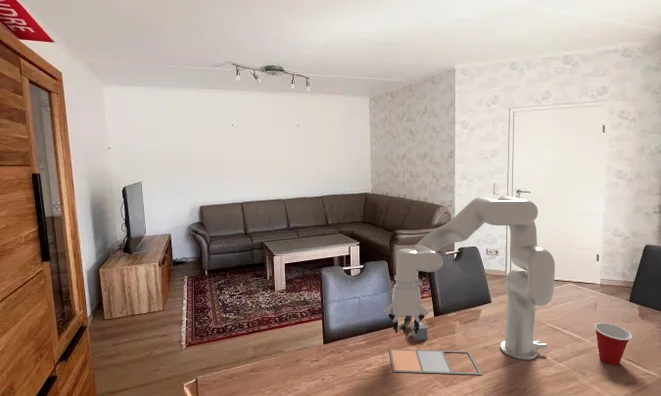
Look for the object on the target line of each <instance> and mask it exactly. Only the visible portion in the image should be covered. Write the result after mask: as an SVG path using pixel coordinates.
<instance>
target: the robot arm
mask: <svg viewBox="0 0 661 396" xmlns="http://www.w3.org/2000/svg"><path fill="white" fill-rule="evenodd" d="M538 214H539V209H538V207H537V205H536V204H535V203H534V202H533V201H531V200H527V199H524V198H518V197H515V196H514V197H513V196H508V195H506V196H499V197H498V198H497V199H493V198H492V199H491V198H489V197H488V198H487V197H476V198H474V199H472V200H471V201H470V202H469V203H468V204H467V205H466V206H465V207H463V208H462V209H461V211H459V212H458V213H457V214H456V215H455V216H454V217H453V218H452V219H451V220H450V221H449V222H447V223H446V224H443V225H442V226H439V227H437V228H436V229H433V230H432V231H429V232H428V233H427V234H426V235H425V236H424V237H423V238H421V240H420V241H419V242H417V243H416V244H415V246H414V247H413V248H409V247H408V248H401V249H398V250H397V252H396V274H395V275H396V277H395V278H396V281H395V285H394V286H393V290H392V297H391V303H390V304H389V305H388V306H387V307H385V308H384V311H383V312H384V313H385V314H386V315H387V316H388V318H389V319H390V320H391V321H392V329H393V330H394V333H395V334H397V333H398V331H399V330H397V328H398V326H399V323H398V318H399V317H401V316H402V317H403V316H405V317H406V316H412V317H414V318H415V319H414V320H413V323H414V328H415V327H416V329H415V330H414V331H415V333H416V334H417V330H419V323H420V322H422V320H423V319H424V318H425V317H427V315H429V310H428V309H427V308H426V307H425V306H424V305H423V304H422V298H421V297H422V296H421V291H420V289H421V288H420V285H421V286H422V285H423V280H419V271H420V272H427V273H434V272H437V271H439V270H440V269H441V268H442V267H443V264H444V260H443V257H442V255H441V254H440V253H439V252H437V251H439V250H440V249H441V248H443V247H444V246H447V245H450V244H454V243H461V242H465V241H467V240H468V239H469V238H470V237H471V236H472V235H473V234H474V233H475V232H476V231H477V230H479V229H480V228H481V227H482V226H483V225H484V224H488V225H492V226H507V227H509V233H510V248H509V257H510V261H511V263H512V264H513V265H515V266H516V267H518V268H515V269H512V270H510V271H509V272H508V273H507V275H506V277H505V290H506V316H505V317H506V319H505V336H504V337H505V339H504V340H503V341H501V342H500V347H499V348H500V350H501V351H502V352H503V353H504V354H506V355H507V356H510V357H511V358H515V359H518V360H522V361H523V360H525V361H528V360H529V361H530V360H534V359H535V358H537V357H538V350H540V349H541V350H547V349H548V345H547V343H541V342H540V340H535V338H534V337H535V323H536V306H537V307H543V306H546V305H548V304H549V303H550V302H551V301H552V299H553V297H554V293H555V276H556V273H555V272H556V271H555V270H556V268H555V267H556V264H555V259H554V256H553V255H552V253H551V252H549V251H548V250H547V249H545V248H544V247H540V246H538V240H537V239H538V238H537V237H538V236H537V226H536V223H535V220H536V219H537V218H538ZM391 310H392V312H391Z"/></svg>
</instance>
